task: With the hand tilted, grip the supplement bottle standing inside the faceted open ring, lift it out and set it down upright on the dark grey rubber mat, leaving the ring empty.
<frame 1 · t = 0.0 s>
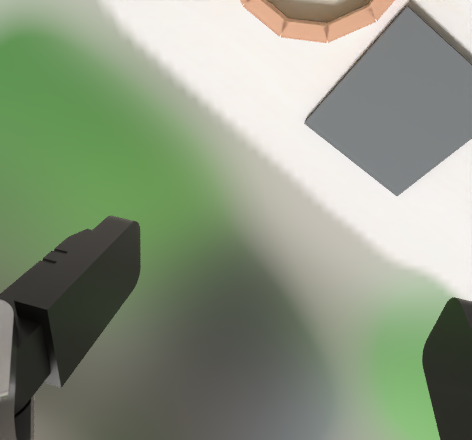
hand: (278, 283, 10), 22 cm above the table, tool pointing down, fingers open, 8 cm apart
mat: (400, 112, 28), on the table
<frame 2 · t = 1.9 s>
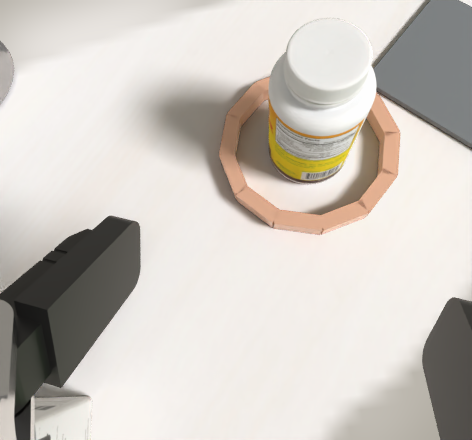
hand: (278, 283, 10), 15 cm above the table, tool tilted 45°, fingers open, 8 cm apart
supplement bottle: (306, 152, 27), resting in faceted open ring
ink box: (28, 438, 24), on the table
faceted open ring: (306, 151, 27), on the table
mat: (460, 70, 28), on the table
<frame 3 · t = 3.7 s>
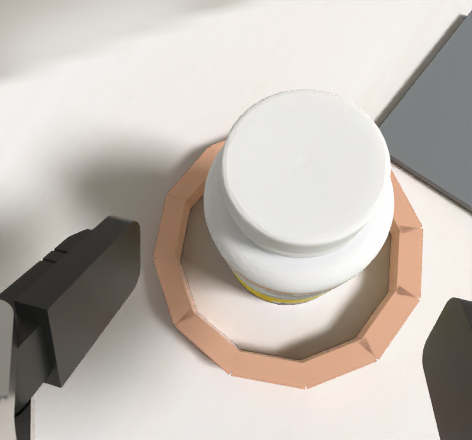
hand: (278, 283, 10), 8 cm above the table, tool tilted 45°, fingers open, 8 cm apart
supplement bottle: (284, 249, 19), resting in faceted open ring
faceted open ring: (284, 248, 18), on the table
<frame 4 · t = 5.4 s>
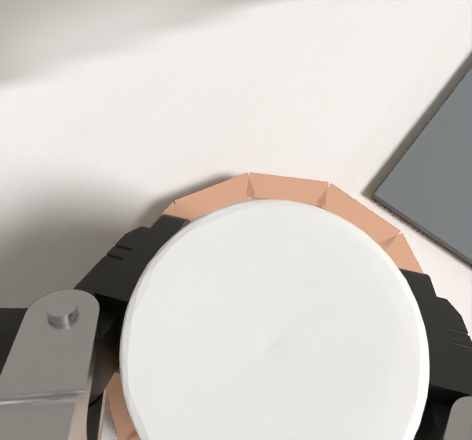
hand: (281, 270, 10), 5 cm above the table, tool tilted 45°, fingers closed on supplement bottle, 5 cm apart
supplement bottle: (266, 333, 15), resting in faceted open ring, touching gripper
faceted open ring: (267, 333, 15), on the table
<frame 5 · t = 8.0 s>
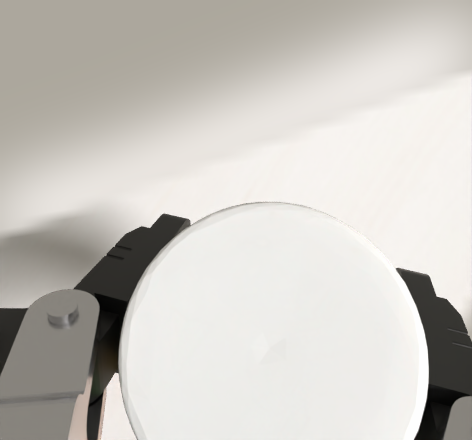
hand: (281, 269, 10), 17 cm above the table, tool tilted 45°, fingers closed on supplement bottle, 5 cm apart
supplement bottle: (266, 334, 15), point 12 cm above the table, touching gripper
when the fingers open (6 cm above the table, at t = 10.5 s): supplement bottle drops 1 cm, resting on mat.
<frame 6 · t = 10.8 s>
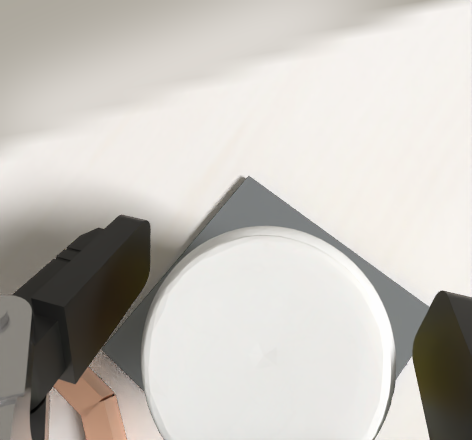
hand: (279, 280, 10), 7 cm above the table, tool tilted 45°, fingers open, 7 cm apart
supplement bottle: (266, 338, 16), resting on mat
mat: (267, 332, 16), on the table
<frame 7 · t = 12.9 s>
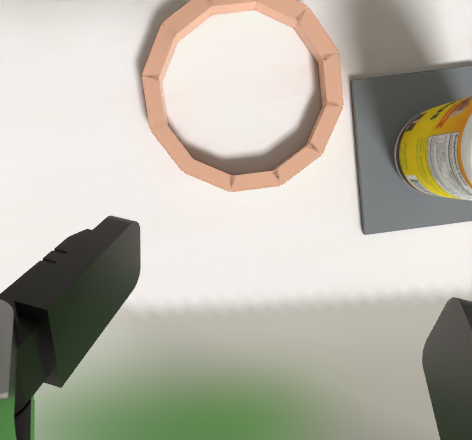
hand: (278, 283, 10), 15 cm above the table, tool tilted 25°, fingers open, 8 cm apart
supplement bottle: (430, 152, 25), resting on mat
faceted open ring: (243, 94, 24), on the table
mat: (431, 150, 25), on the table
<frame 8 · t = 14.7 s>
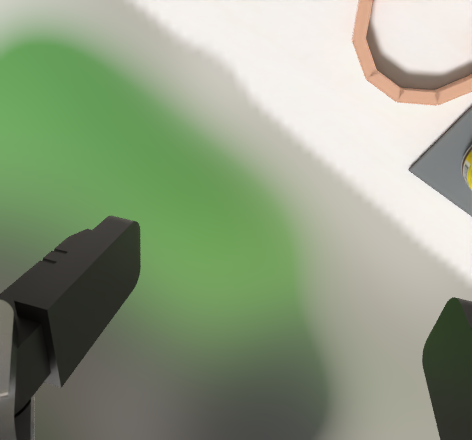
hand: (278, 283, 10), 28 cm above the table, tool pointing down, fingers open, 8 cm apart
faceted open ring: (434, 22, 30), on the table
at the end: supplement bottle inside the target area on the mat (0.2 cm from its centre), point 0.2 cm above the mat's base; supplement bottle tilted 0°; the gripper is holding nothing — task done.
